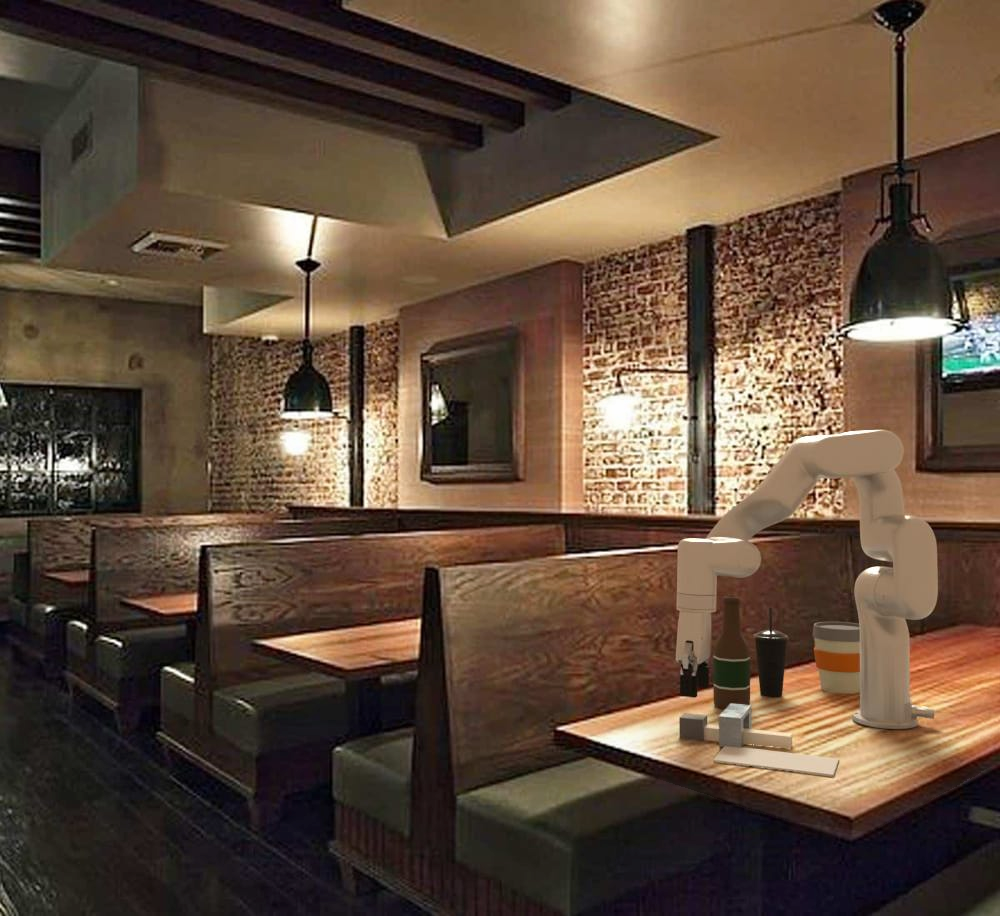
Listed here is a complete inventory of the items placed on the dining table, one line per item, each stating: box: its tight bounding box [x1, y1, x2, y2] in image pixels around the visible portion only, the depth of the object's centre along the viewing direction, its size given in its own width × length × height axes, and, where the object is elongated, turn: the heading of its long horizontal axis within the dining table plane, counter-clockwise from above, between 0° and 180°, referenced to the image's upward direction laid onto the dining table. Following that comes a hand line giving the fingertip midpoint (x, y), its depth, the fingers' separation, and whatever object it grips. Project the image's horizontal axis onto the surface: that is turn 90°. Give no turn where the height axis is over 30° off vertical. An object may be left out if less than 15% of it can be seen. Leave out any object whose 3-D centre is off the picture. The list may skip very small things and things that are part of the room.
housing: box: [718, 703, 753, 748], centre depth 182 cm, size 4×11×6 cm, turn 155°
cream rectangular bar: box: [678, 712, 793, 750], centre depth 182 cm, size 20×4×4 cm, turn 66°
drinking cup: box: [753, 607, 789, 698], centre depth 220 cm, size 8×8×20 cm
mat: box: [712, 746, 840, 778], centre depth 169 cm, size 20×10×1 cm, turn 65°
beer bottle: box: [712, 595, 751, 710], centre depth 209 cm, size 8×8×24 cm
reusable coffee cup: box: [812, 621, 860, 695], centre depth 226 cm, size 13×13×15 cm
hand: (694, 691), depth 185 cm, fingers open, 9 cm apart
